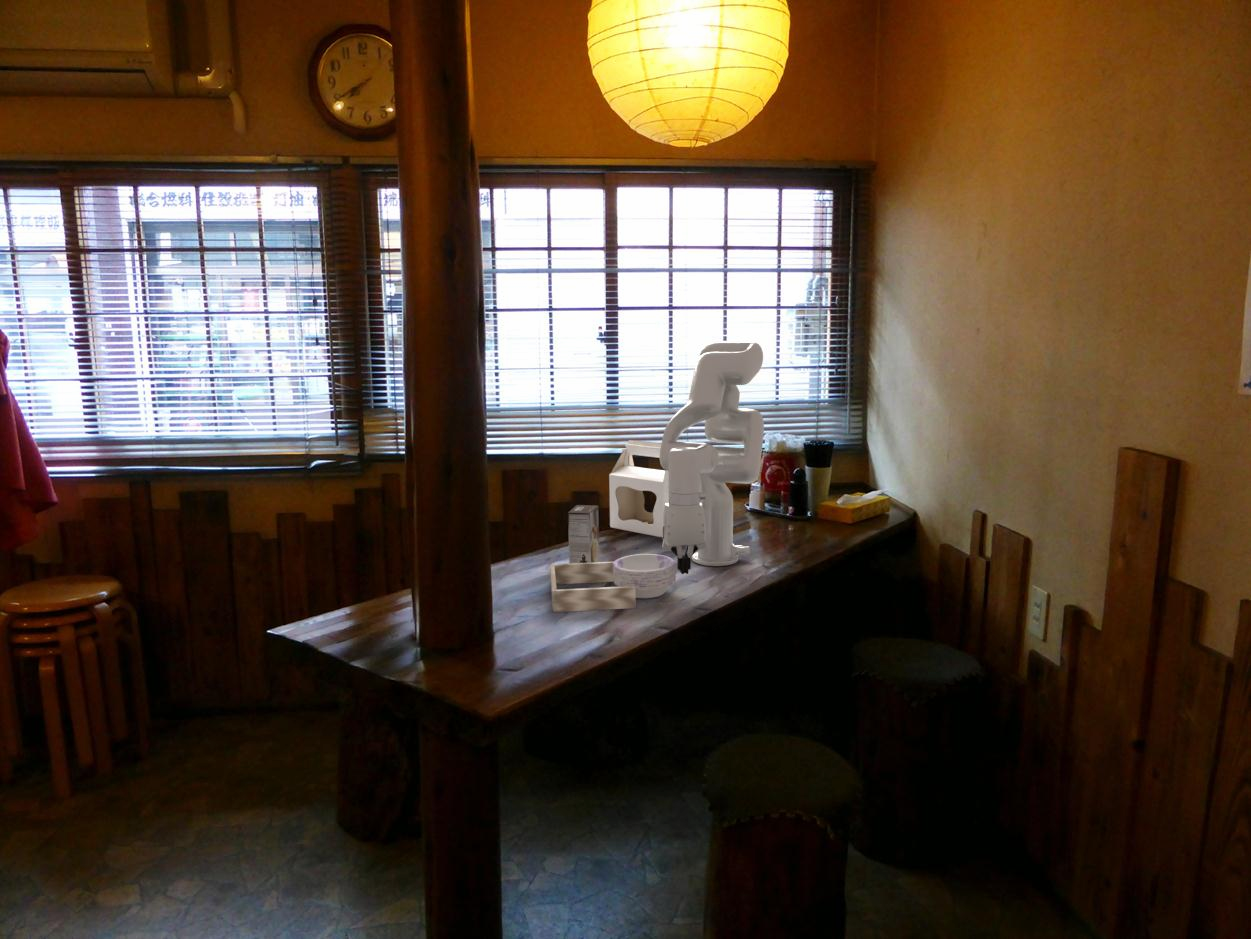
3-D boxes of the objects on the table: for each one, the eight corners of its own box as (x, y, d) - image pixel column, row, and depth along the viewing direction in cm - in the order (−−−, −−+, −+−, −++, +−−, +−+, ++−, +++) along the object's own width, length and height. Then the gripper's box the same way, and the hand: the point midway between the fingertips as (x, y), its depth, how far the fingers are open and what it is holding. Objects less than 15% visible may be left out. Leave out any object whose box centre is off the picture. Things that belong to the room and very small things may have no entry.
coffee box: (577, 560, 224) (576, 504, 221) (600, 561, 222) (599, 505, 220) (568, 570, 215) (567, 512, 212) (592, 571, 214) (590, 512, 211)
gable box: (609, 527, 260) (607, 441, 255) (634, 519, 270) (633, 436, 265) (664, 538, 246) (664, 447, 241) (689, 529, 256) (689, 442, 251)
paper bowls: (603, 588, 200) (603, 557, 199) (658, 579, 206) (658, 549, 205) (628, 607, 187) (628, 574, 185) (686, 597, 193) (686, 565, 191)
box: (625, 579, 207) (625, 561, 206) (635, 608, 186) (635, 587, 185) (550, 583, 204) (550, 564, 204) (552, 612, 184) (552, 591, 183)
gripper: (710, 494, 198) (710, 566, 201) (650, 496, 196) (651, 569, 199) (718, 500, 191) (717, 575, 194) (656, 503, 189) (656, 578, 192)
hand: (683, 572), depth 197 cm, fingers closed
